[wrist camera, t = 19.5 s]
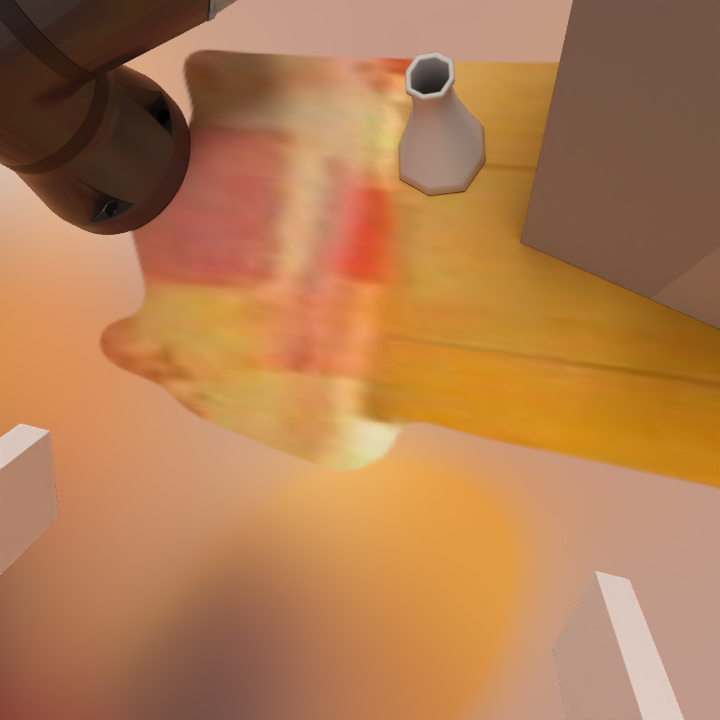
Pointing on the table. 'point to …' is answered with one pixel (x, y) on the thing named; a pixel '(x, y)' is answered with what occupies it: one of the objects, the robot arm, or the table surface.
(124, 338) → the table surface
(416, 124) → the flask
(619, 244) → the stand
